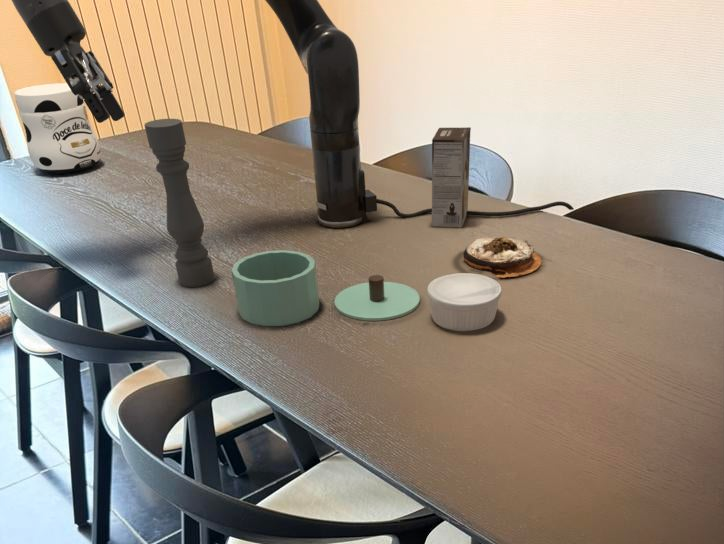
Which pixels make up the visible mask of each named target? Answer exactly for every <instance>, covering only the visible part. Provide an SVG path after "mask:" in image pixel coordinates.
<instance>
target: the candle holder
mask: <svg viewBox="0 0 724 544" xmlns="http://www.w3.org/2000/svg"><path fill="white" fill-rule="evenodd" d="M144 129H145V133H146V138H147V142H148V146H149V147H148V148H150V149H151V152H152V154H153V155H154V156H155V157H156V159H157V161H158V163H157V164H156V166H155V170H156V172H157V173H159V175H160V176H161V177H162V181H163V186H164V191H165V194H166V230H167V232H168V235H169V236H170V237H171V238H172V239H173V240H174V241H175V245H177V248H176V251H175V253H174V258H175V259H176V261H175V268H176V274H177V277H178V281H179V284H180V285H181V286H183V287H186V288H200V287H204V286H207V285H209V284H211V283H213V282H214V281H215V277H216V276H215V272H214V267H213V263H212V262H213V261H212V258H211V257H209V251H208V249H207V248H206V247H205V245H204V244H202V241H203V239H202V237H203V235H204V230H205V223H204V220H203V218H202V215H201V213H200V211H199V209H198V206H197V204H196V201H195V199H194V197H193V195H192V193H191V189H190V185H189V178H188V174H187V173H188V170H189V169H190V163H189V162H188V161H186V160H185V159H184V157H185V152H186V145H187V141H186V135H185V131H184V125H183V121H182V120H181V119H179V118H160V119H153V120H150V121H147V122H145V123H144Z"/></svg>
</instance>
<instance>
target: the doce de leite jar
mask: <svg viewBox="0 0 724 544" xmlns="http://www.w3.org/2000/svg"><path fill="white" fill-rule="evenodd" d="M13 95H14V100H15V104H16V106H17V108H18V113H19V116H20V119H21V122H22V125H23V127H24V131H25V137H26V146H27V147H26V148H27V152H28V155H29V158H30V160H31V162H32V163H33V165H34V166H35V167H36V169H37V170H39V171H42V172H45V173H51V174H67V173H74V172H79V171H83V170H87V169H90V168H91V167H94V166H96V165H97V164H98V163H99V162H100V161H101V158H102V152H101V145H100V142H99V139H98V137H97V135H96V133H95V131H94V130H93V127H92V125H91V122H90V119H89V115H88V111H87V108H86V107H87V106H86V103H85V102H84V99H83V100H82V99H81V98H79V96H78V95H74V94H73V93H72V91H71V89H70V87H69V86H68V84H67V82H66V83H65V82H60V83H59V82H57V83H56V82H55V83H44V84H36V85H31V86H27V87H22V88H19V89H17V90H15V91H14V92H13Z"/></svg>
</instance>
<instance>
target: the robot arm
mask: <svg viewBox="0 0 724 544" xmlns="http://www.w3.org/2000/svg"><path fill="white" fill-rule="evenodd" d="M264 1H265V2H266V3H267V5H268V6H269V7H270V9H271V10H272V11H273V13H274V14H275V16H276V17H277V19H278V20H279V22H280V24H281V25H282V28H283V29H284V31H285V33H286V34H287V37H288V39H289V40H290V42H291V44H292V46H293V48H294V51H295V52H296V55H297V57H298V58H299V61H300V63H301V65H302V67H303V69H304V72H305V73H306V74H307V75H308V76H307V78H308V79H307V80H308V88H309V89H308V91H309V101H310V106H309V107H310V109H309V115H308V120H309V132H310V141H311V142H310V143H311V152H312V162H313V172H314V182H315V195H316V201H315V207H316V208H317V221H318V223H319V224H320V225H321V226H323V227H326V228H337V229H338V228H339V229H340V228H349V227H353V226H357V225H359V224H361V223H363V222H367V221H368V215H367V213H372V212H377V211H378V204H379V205H384V206H386V207H389V209H390V208H391V209H392V211H393V212H394V213H395V214H396V216H398V217H400V218H402V219H409V218H415V217H419V216H423V215H425V214H430V213H432V207H431V208H425V209H422V210H420V211H417V212H413V213H403V212H400V210H399V209H398V208H397V206H396V205H394V204H393V203H392V202H389V201H387V200H383V199H379V198H377V195H376V194H375V193H374V192H373V191H371V190H370V189H366V175H365V171H364V169H362V168H361V167H362V166H361V150H360V149H361V148H360V131H359V115H360V111H361V110H360V108H361V95H360V94H361V93H360V67H359V58H358V57H359V56H358V51H357V48H356V46H355V43H354V42H353V40H352V39H351V38H350V36H349V35H348V34H346V33H345V32H344V31H342V30H341V29H339V28H338V27H337V26H336V25H335V24H334V22H333V21H332V20H331V19H330V16H329V15H328V14H327V13H326V11H325V9H324V8H323V6H322V5H321V4H320V2H319V1H318V0H264ZM11 3H12V5H13V6H14V8H15V9H16V12H18V15H19V16H20V18H21V20H22V21H23V22H24V24H25V26H26V28H27V29H28V30H29V32H30V34H31V36H32V37H33V38H34V40H35V41H36V43H37V45H38V46H39V48H40V50H41V51H42V53H43V54H44V55H45V56H47V57H50V59H51V61H53V63H54V64H55V66H56V69H58V71H59V72H60V74H61V76H62V78H63V79H64V81H65V82H66V83H67V84H68V86H69V87H70V89H71V91H72V93H73V94H74V95H78V96H79V98H81V99H82V100H83V101H84V104H85V106H86V107H87V109H88V110H89V111H90V113H91V114H92V116H93V118H94V119H95V121H96V122H97V123H99V124H101V123H104V122H105V121H107V120H108V119H110V118H111V120H112V121H113V122H118V121H120V120H121V119H123V118H124V117H125V114H126V113H125V111H124V110H123V109H122V107H121V105H120V103H119V101H118V100H117V98H116V97H115V95H114V93H113V89H114V85H113V83H112V82H111V80H110V79H109V77H108V75H107V74H106V72H105V70H104V68H103V67H102V65H101V64H100V63H99V61H98V59H97V57H96V55H95V54H94V52H93V51H91V50H89V51H87V52H86V50H85V49H84V48H83V46H82V45H81V41H82V40H84V39H85V37H86V36H87V31H86V28H85V27H84V25H83V23H82V21H81V20H80V18H79V16H78V15H77V14H76V11H75V10H74V8H73V6H72V5H71V3H70V1H69V0H11ZM100 84H101V85H100ZM559 206H561V207H565V208H567V209H568V210H569V211H574V210H575V208H574V207H573V206H572V205H571V204H569V203H568V202H565V201H554V202H550V203H547V204H543V205H538V206H531V207H526V208H521V209H517V210H516V209H515V210H508V211H507V210H506V211H476V210H475V211H473V210H468V211H467V213H466V216H474V217H476V216H477V217H508V216H515V215H520V214H525V213H531V212H538V211H543V210H546V209H550V208H553V207H559Z"/></svg>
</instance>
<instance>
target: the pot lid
mask: <svg viewBox="0 0 724 544" xmlns="http://www.w3.org/2000/svg"><path fill="white" fill-rule="evenodd" d="M420 302H421V298H420V294H419V292H418V291H417V290H416V289H415V288H412V286H409V285H406V284H403V283H399V282H394V281H393V282H392V281H385V278H384V276H383V275H380V274H373V275H370V276H368V282H362V283H358V284H354V285H351V286H349V287H346V288H344V289H343V290H341V291H340V292H338V293H337V294H336V296H335V297H334V302H333V303H334V308H335V310H336V311H337V312H338V313H339V314H341V315H343V316H345V317H347V318H350V319H352V320H353V319H354V320H359V321H367V322H380V321H381V322H382V321H389V320H393V319H394V320H395V319H398V318H401V317H402V318H403V317H405V316H407V315H409V314H410V313H412V312H414V311H415V310H416V309H417V308H418V307H419V305H420Z"/></svg>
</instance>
